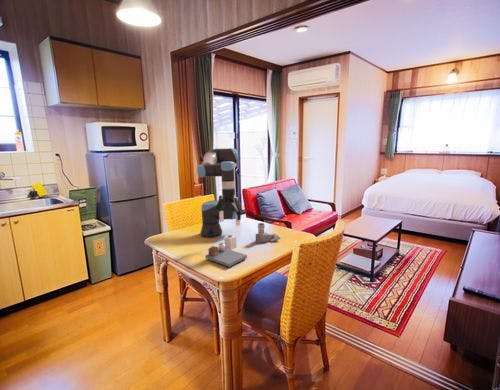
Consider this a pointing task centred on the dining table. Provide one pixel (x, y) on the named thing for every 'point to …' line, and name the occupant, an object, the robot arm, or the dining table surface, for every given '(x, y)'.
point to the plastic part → (230, 242)
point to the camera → (265, 235)
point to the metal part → (221, 247)
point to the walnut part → (213, 251)
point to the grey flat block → (227, 257)
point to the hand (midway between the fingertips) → (229, 223)
